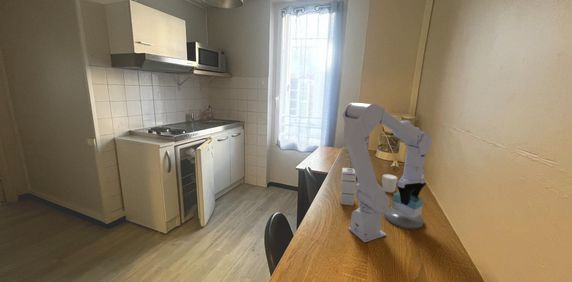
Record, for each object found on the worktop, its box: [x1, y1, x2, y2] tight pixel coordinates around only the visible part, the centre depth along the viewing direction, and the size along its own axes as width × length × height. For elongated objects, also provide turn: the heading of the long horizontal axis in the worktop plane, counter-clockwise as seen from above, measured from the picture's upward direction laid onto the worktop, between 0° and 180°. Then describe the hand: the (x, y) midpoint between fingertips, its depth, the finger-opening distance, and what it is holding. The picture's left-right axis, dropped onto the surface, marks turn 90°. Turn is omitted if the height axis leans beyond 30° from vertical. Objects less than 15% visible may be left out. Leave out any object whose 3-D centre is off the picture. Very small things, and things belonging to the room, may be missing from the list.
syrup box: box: [339, 167, 357, 206], centre depth 96 cm, size 6×6×14 cm
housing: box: [391, 191, 424, 218], centre depth 81 cm, size 8×5×6 cm, turn 34°
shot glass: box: [381, 173, 398, 193], centre depth 109 cm, size 7×7×7 cm
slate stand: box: [383, 206, 425, 230], centre depth 85 cm, size 13×13×2 cm
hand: (408, 201), depth 81 cm, fingers closed on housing, 5 cm apart
